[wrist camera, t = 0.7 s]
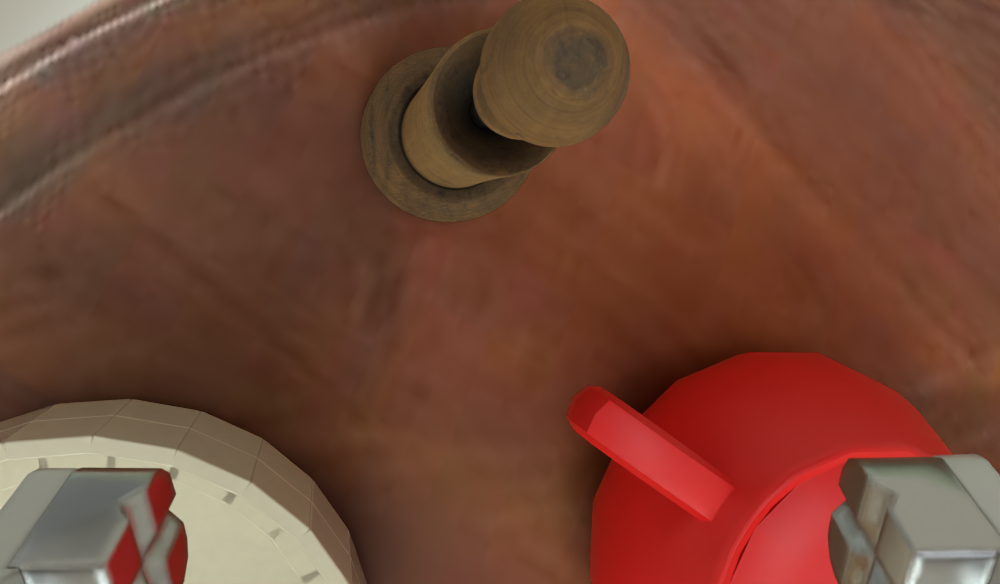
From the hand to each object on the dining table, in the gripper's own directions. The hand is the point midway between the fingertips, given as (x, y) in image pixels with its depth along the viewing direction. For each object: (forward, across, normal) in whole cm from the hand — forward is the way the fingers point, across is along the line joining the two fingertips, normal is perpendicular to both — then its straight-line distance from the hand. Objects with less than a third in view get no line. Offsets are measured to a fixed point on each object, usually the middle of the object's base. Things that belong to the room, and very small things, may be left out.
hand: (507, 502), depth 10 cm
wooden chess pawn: (+24, +2, +3) cm, 25 cm away
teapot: (+20, -11, +20) cm, 30 cm away
